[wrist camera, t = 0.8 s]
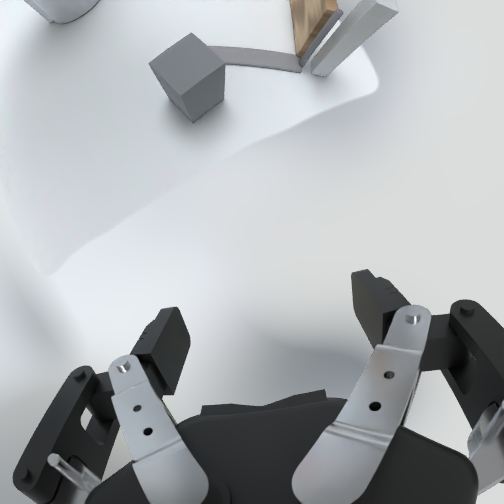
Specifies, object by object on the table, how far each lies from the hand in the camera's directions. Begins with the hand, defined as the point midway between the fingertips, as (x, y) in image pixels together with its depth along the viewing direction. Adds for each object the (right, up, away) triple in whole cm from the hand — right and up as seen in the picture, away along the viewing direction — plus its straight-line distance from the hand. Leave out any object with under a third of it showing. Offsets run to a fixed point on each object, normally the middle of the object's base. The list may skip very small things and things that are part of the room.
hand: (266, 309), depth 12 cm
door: (+5, +33, +13) cm, 36 cm away
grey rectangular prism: (-7, +20, +16) cm, 27 cm away
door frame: (0, +26, +15) cm, 30 cm away
